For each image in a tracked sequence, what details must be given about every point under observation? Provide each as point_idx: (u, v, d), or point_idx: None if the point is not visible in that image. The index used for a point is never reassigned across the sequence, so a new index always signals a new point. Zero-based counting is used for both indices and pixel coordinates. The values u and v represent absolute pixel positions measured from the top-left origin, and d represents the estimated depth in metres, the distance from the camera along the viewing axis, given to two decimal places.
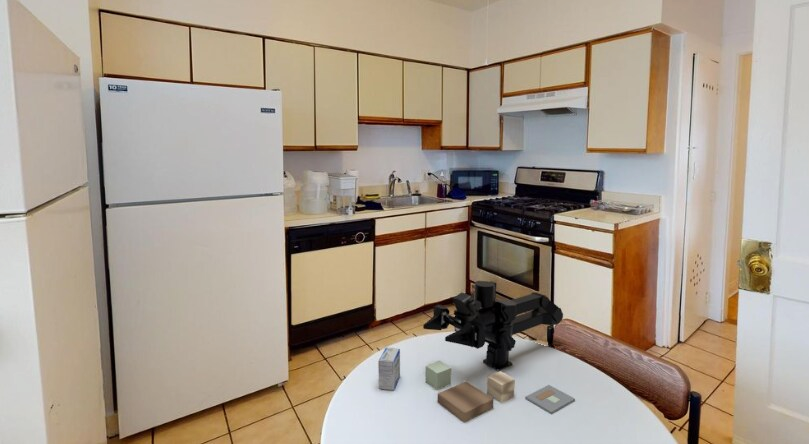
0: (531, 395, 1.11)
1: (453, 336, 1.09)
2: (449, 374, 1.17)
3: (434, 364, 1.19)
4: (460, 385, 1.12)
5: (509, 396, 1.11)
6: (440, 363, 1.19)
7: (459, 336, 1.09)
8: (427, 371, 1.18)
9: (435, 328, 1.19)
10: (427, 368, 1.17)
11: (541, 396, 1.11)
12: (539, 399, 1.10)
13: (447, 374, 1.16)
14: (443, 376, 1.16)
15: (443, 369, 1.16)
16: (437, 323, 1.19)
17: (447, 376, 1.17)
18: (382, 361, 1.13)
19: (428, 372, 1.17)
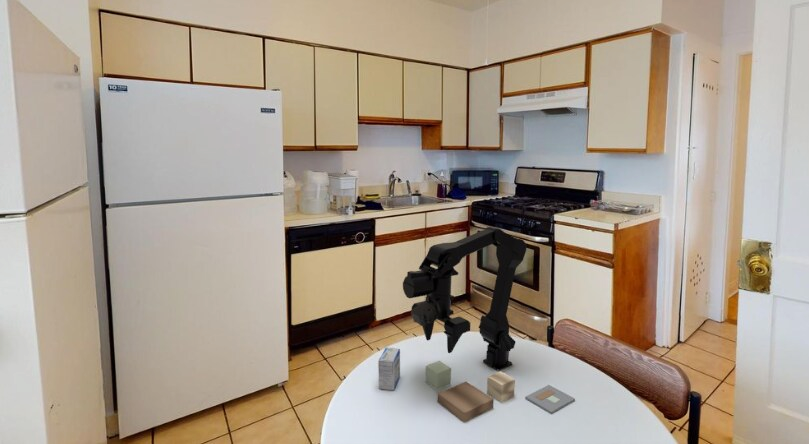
0: (531, 395, 1.11)
1: (450, 347, 1.11)
2: (449, 374, 1.17)
3: (434, 364, 1.19)
4: (460, 385, 1.12)
5: (509, 396, 1.11)
6: (440, 363, 1.19)
7: (452, 341, 1.11)
8: (427, 371, 1.18)
9: (432, 323, 1.20)
10: (427, 368, 1.17)
11: (541, 396, 1.11)
12: (539, 399, 1.10)
13: (447, 374, 1.16)
14: (443, 376, 1.16)
15: (443, 369, 1.16)
16: None
17: (447, 376, 1.17)
18: (382, 361, 1.13)
19: (428, 372, 1.17)
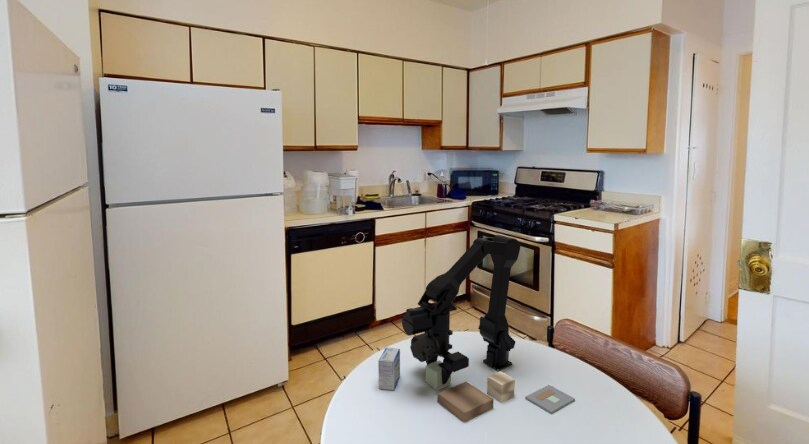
0: (531, 395, 1.11)
1: (444, 378, 1.15)
2: None
3: (434, 364, 1.18)
4: (460, 385, 1.12)
5: (509, 396, 1.11)
6: None
7: (446, 373, 1.14)
8: (427, 371, 1.18)
9: (436, 359, 1.21)
10: (427, 368, 1.17)
11: (541, 396, 1.11)
12: (539, 399, 1.10)
13: None
14: None
15: None
16: (432, 357, 1.20)
17: None
18: (382, 361, 1.13)
19: (428, 372, 1.17)
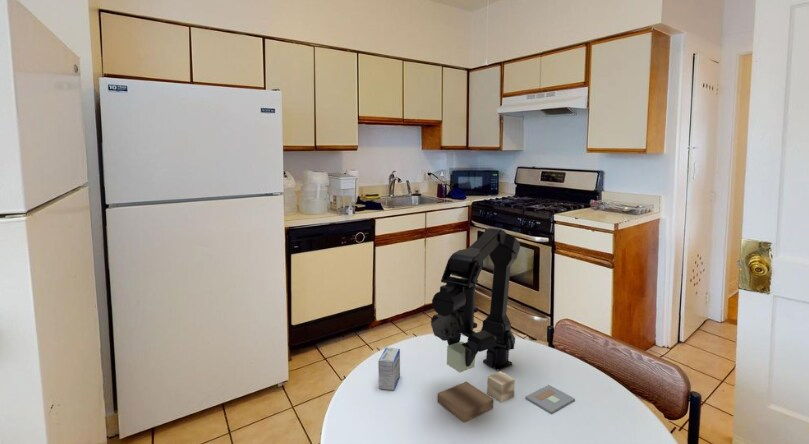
0: (531, 395, 1.11)
1: (468, 360, 1.04)
2: None
3: (456, 345, 1.08)
4: (460, 385, 1.12)
5: (509, 396, 1.11)
6: None
7: (471, 354, 1.04)
8: (449, 352, 1.07)
9: (458, 339, 1.10)
10: (449, 348, 1.07)
11: (541, 396, 1.11)
12: (539, 399, 1.10)
13: None
14: None
15: None
16: (455, 337, 1.09)
17: None
18: (382, 361, 1.13)
19: (450, 353, 1.07)
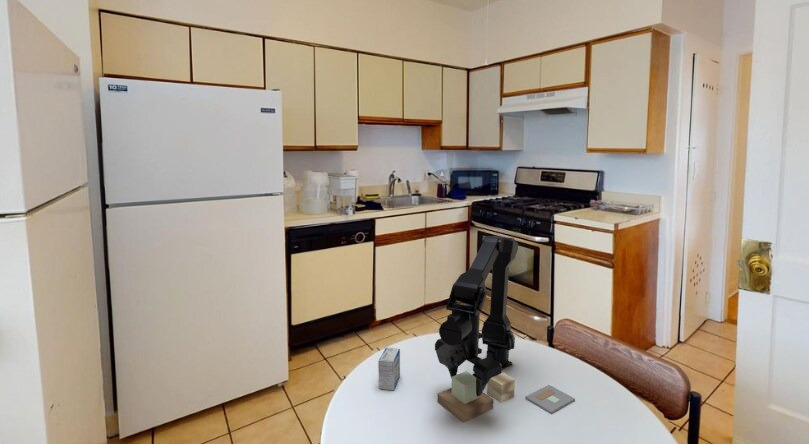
0: (531, 395, 1.11)
1: (479, 390, 1.02)
2: None
3: (461, 375, 1.08)
4: None
5: (509, 396, 1.11)
6: (467, 374, 1.09)
7: (482, 383, 1.02)
8: (453, 383, 1.07)
9: None
10: (453, 379, 1.07)
11: (541, 396, 1.11)
12: (539, 399, 1.10)
13: (475, 386, 1.06)
14: (471, 388, 1.05)
15: (471, 381, 1.05)
16: None
17: None
18: (382, 361, 1.13)
19: (454, 384, 1.07)
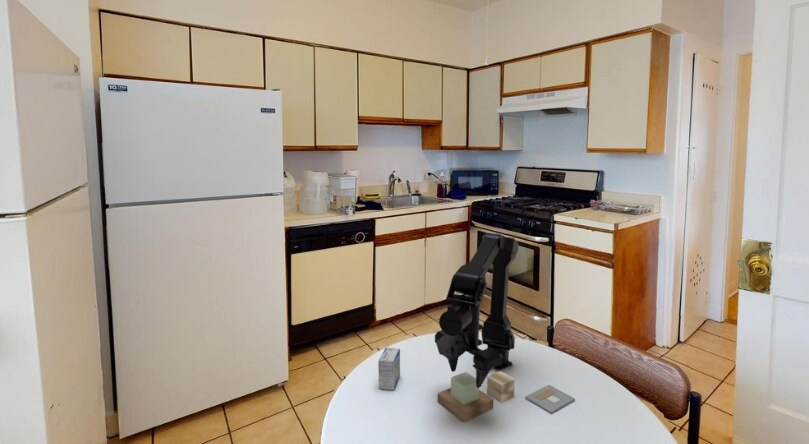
0: (531, 395, 1.11)
1: (479, 381, 1.02)
2: None
3: (460, 376, 1.08)
4: None
5: (509, 396, 1.11)
6: (467, 375, 1.08)
7: (482, 375, 1.01)
8: (453, 383, 1.07)
9: None
10: (453, 380, 1.07)
11: (541, 396, 1.11)
12: (539, 399, 1.10)
13: (475, 387, 1.05)
14: (471, 389, 1.05)
15: (471, 382, 1.05)
16: None
17: (475, 389, 1.06)
18: (382, 361, 1.13)
19: (454, 384, 1.06)
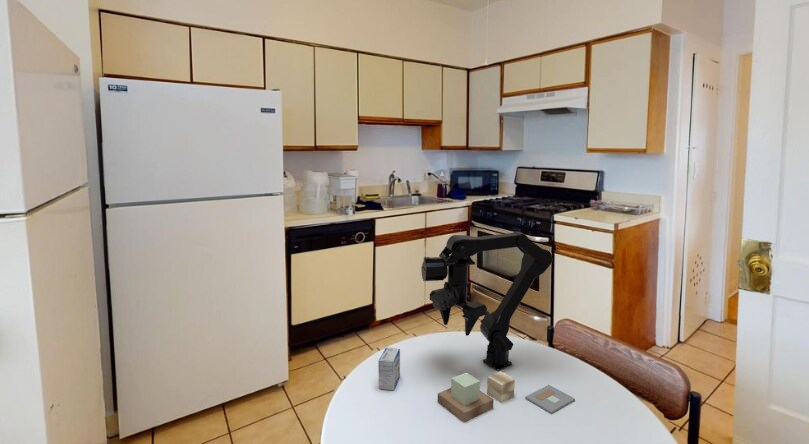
0: (531, 395, 1.11)
1: (468, 330, 1.20)
2: (478, 388, 1.05)
3: (461, 377, 1.07)
4: None
5: (509, 396, 1.11)
6: (467, 375, 1.08)
7: (470, 324, 1.19)
8: (453, 384, 1.06)
9: (449, 309, 1.29)
10: (453, 381, 1.06)
11: (541, 396, 1.11)
12: (539, 399, 1.10)
13: (475, 388, 1.05)
14: (471, 390, 1.04)
15: (471, 382, 1.05)
16: (446, 307, 1.28)
17: (476, 390, 1.05)
18: (382, 361, 1.13)
19: (454, 385, 1.06)
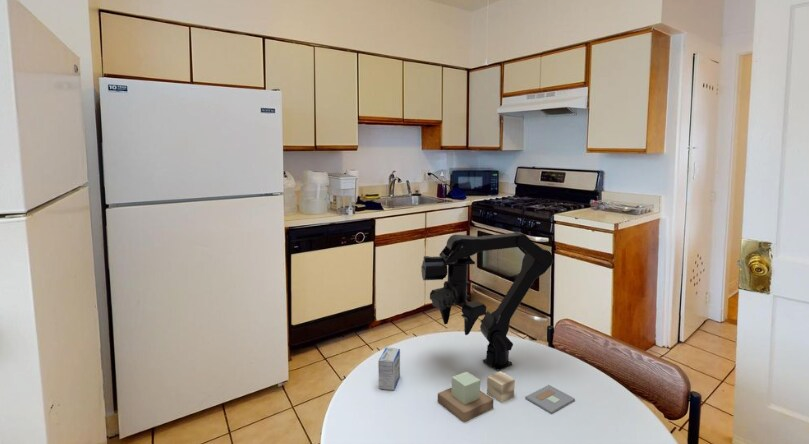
0: (531, 395, 1.11)
1: (467, 329, 1.20)
2: (478, 387, 1.06)
3: (461, 376, 1.08)
4: None
5: (509, 396, 1.11)
6: (468, 374, 1.08)
7: (469, 323, 1.20)
8: (453, 383, 1.07)
9: (449, 308, 1.29)
10: (454, 380, 1.07)
11: (541, 396, 1.11)
12: (539, 399, 1.10)
13: (475, 387, 1.05)
14: (471, 389, 1.05)
15: (471, 381, 1.05)
16: (446, 307, 1.28)
17: (476, 389, 1.06)
18: (382, 361, 1.13)
19: (455, 384, 1.06)
